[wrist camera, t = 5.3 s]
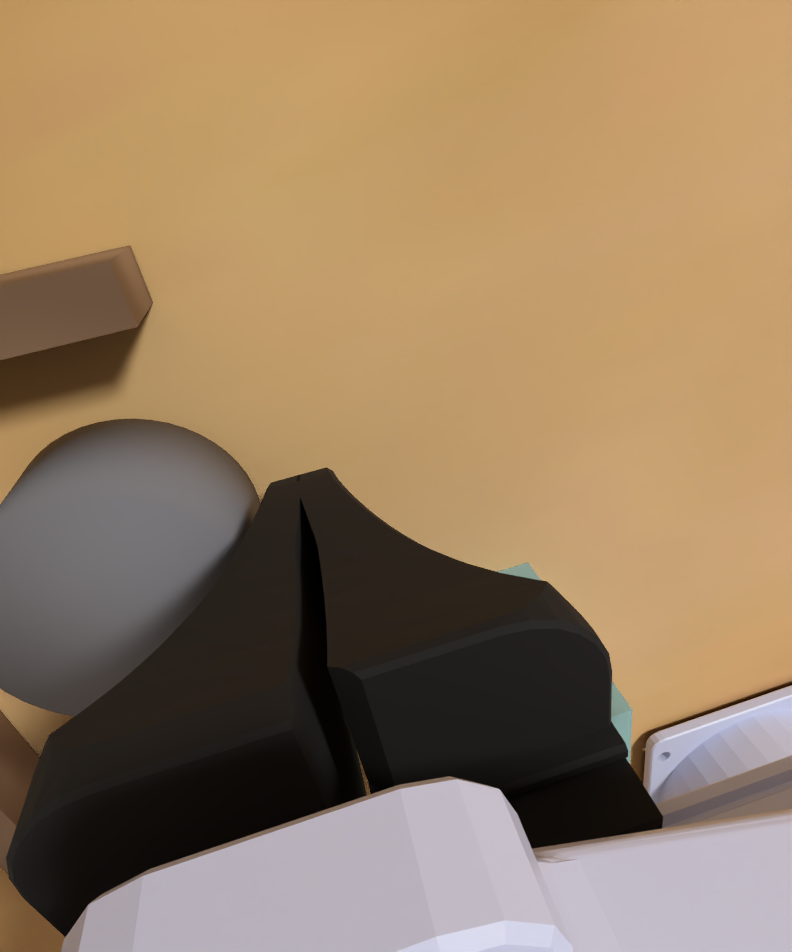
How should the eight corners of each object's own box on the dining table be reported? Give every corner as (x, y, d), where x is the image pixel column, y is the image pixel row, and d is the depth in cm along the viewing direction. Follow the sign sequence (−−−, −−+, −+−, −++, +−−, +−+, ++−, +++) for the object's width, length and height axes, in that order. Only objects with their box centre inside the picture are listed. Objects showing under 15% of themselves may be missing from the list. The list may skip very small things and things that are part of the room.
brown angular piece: (348, 793, 19) (357, 850, 17) (98, 878, 18) (84, 945, 16) (130, 245, 10) (109, 261, 9) (-374, 359, 9) (-498, 400, 8)
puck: (285, 582, 14) (294, 675, 12) (76, 637, 14) (37, 749, 11) (224, 394, 12) (219, 460, 9) (-36, 452, 11) (-122, 541, 8)
